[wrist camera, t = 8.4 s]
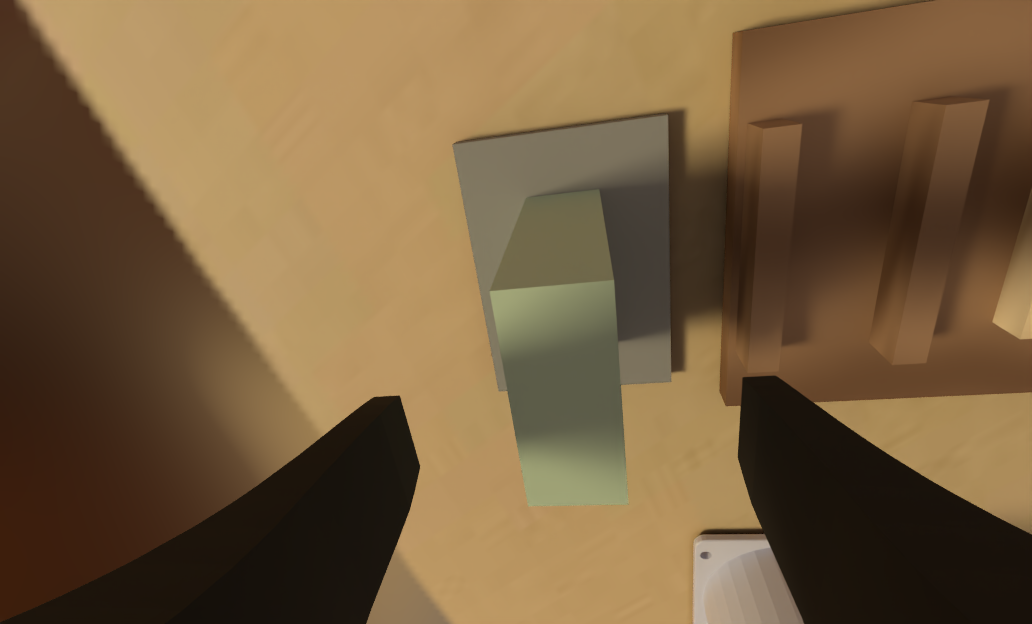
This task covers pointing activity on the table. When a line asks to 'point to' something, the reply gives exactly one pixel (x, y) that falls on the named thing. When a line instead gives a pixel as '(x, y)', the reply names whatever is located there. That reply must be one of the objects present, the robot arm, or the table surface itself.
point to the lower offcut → (1018, 284)
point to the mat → (626, 209)
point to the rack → (878, 201)
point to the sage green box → (562, 352)
